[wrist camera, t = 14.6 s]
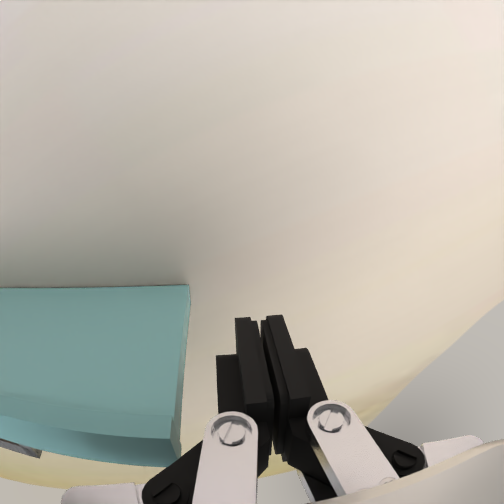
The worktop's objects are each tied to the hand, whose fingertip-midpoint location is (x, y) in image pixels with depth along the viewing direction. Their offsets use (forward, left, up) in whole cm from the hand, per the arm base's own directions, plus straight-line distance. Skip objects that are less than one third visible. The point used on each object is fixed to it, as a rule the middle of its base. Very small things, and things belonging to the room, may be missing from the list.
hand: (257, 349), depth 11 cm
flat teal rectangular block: (0, -10, -4) cm, 11 cm away
